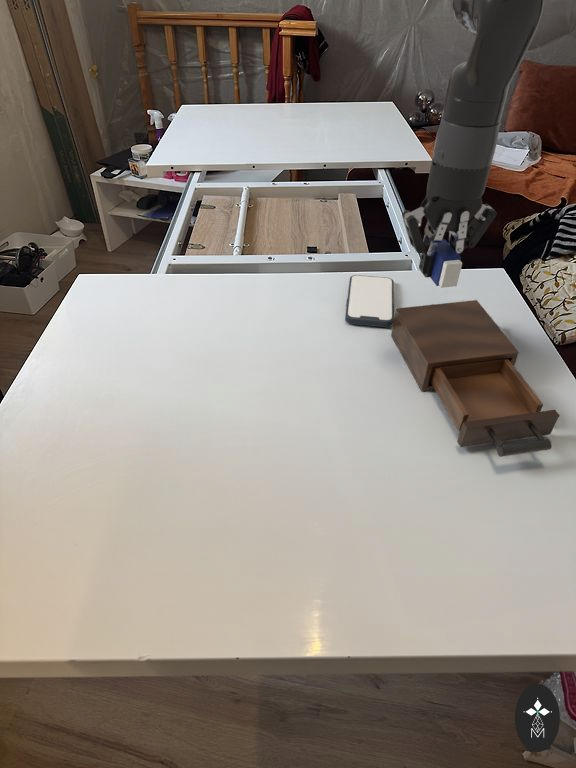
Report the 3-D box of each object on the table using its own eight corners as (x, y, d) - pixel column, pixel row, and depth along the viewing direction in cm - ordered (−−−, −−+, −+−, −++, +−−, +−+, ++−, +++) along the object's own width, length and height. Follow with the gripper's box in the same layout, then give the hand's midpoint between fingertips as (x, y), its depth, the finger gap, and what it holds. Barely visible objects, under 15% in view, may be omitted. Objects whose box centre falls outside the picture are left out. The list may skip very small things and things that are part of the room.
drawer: (567, 457, 72) (577, 437, 70) (473, 471, 70) (481, 452, 68) (504, 373, 85) (511, 354, 83) (424, 383, 83) (428, 364, 81)
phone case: (349, 280, 108) (343, 325, 96) (349, 273, 107) (344, 317, 95) (393, 284, 107) (393, 329, 95) (394, 277, 106) (394, 322, 94)
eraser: (439, 265, 82) (444, 239, 79) (457, 288, 77) (464, 260, 74) (422, 267, 82) (427, 240, 79) (439, 289, 77) (445, 262, 74)
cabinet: (508, 380, 85) (519, 352, 81) (421, 391, 83) (428, 363, 79) (469, 327, 96) (476, 299, 92) (390, 335, 94) (395, 308, 90)
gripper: (498, 143, 73) (468, 257, 84) (401, 149, 70) (383, 265, 82) (527, 163, 67) (490, 282, 79) (422, 170, 65) (401, 291, 77)
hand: (436, 273), depth 80 cm, fingers closed on eraser, 3 cm apart
